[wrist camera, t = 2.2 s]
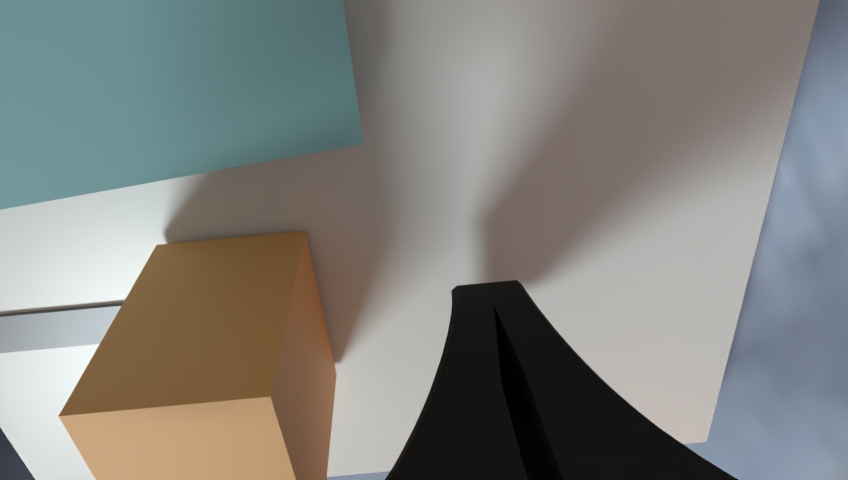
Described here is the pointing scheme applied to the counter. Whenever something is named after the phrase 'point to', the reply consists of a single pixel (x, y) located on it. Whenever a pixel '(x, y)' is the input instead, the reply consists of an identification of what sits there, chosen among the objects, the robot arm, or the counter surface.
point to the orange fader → (212, 368)
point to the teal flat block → (166, 90)
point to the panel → (464, 209)
